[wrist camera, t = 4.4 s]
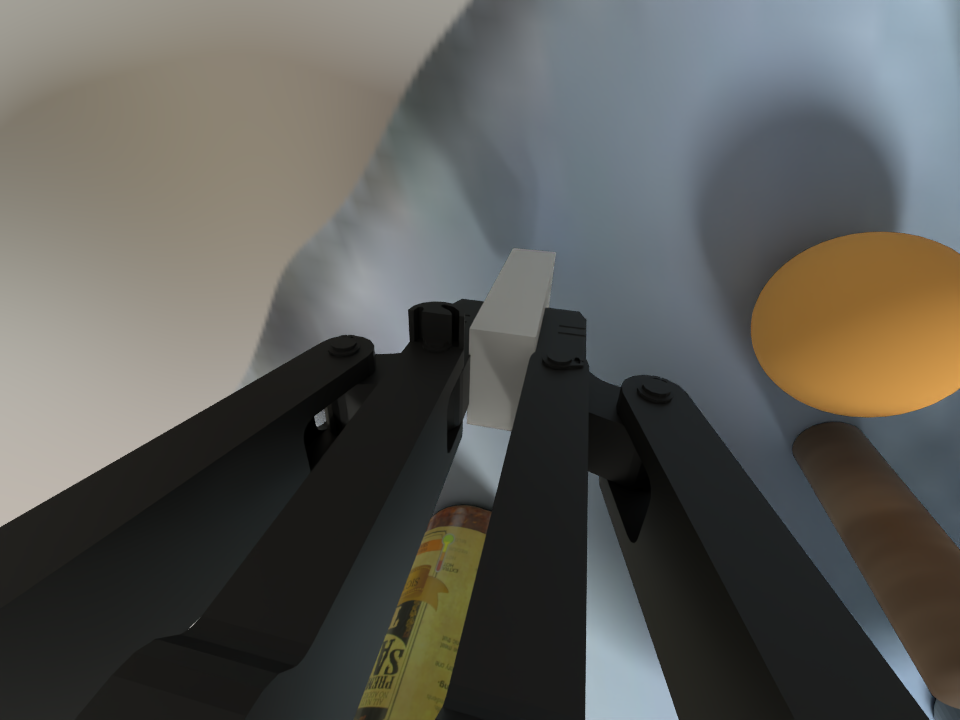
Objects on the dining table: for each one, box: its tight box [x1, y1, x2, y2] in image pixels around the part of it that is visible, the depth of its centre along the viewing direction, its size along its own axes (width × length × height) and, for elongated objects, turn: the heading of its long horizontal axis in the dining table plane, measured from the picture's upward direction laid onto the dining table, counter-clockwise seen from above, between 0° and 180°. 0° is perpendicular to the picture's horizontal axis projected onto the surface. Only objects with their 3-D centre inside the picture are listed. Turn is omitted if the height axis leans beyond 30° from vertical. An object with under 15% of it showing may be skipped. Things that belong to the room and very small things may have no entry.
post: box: [792, 422, 960, 709], centre depth 15 cm, size 3×3×9 cm
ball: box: [751, 232, 960, 417], centre depth 13 cm, size 6×6×6 cm
